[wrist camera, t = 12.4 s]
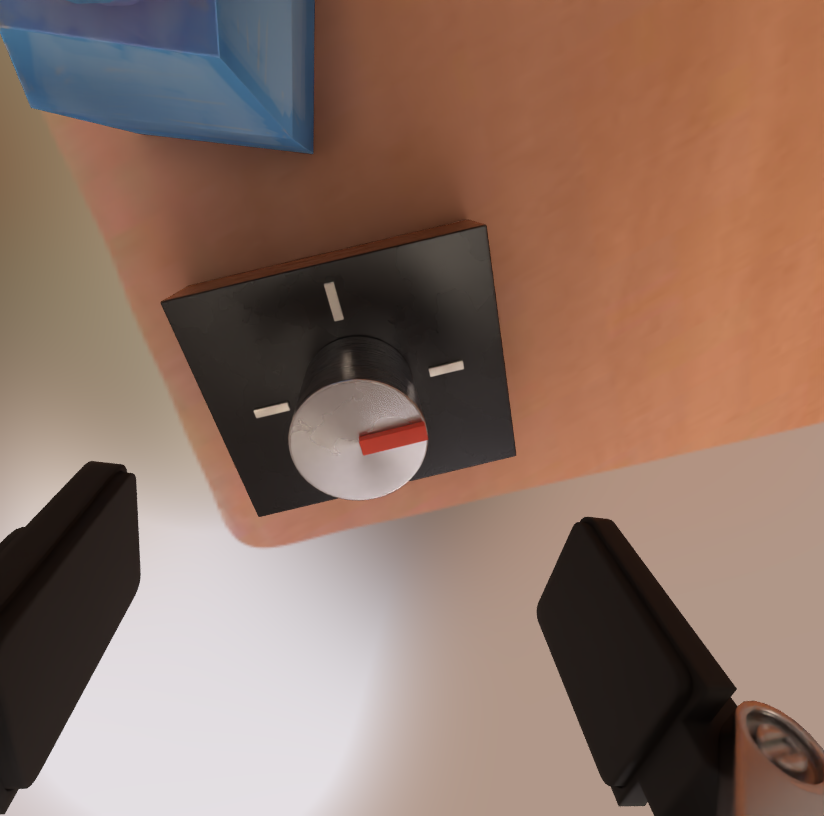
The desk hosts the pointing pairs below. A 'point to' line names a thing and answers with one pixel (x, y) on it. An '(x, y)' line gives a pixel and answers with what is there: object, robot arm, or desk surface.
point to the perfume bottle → (171, 66)
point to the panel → (350, 317)
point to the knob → (358, 421)
